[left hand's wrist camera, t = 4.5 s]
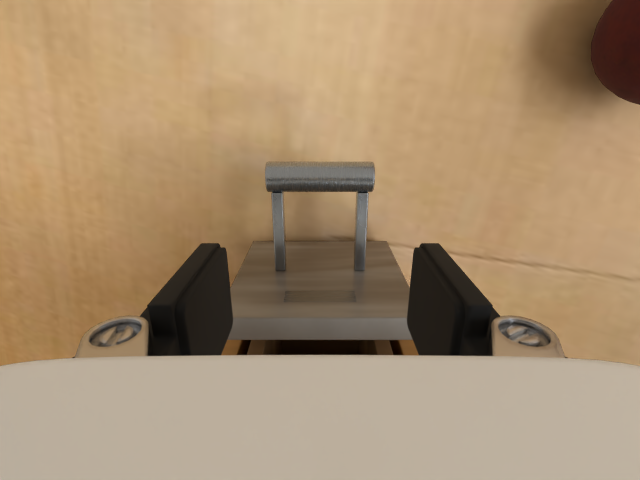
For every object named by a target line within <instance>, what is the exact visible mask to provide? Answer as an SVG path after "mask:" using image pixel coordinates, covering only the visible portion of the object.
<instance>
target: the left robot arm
mask: <svg viewBox="0 0 640 480" xmlns="http://www.w3.org/2000/svg"><path fill="white" fill-rule="evenodd" d="M147 306H148V307H147V308H146V310H145V311H144V312H143V313H142V314H141V315H140V317H139V316H121V317H116V318H112V319H109V320H106V321H104V322H101V323H99V324H97V325H96V326H94V327H92V328H91V329H90V330H88V331H87V332H86V333H85V334H84V336H83V337H82V339H81V341H80V344H79V347H78V350H77V353H76V356H75V357H73V358H66V359H51V360H37V361H29V362H22V363H14V364H8V365H3V366H0V480H640V366H637V365H631V364H626V363H619V362H610V361H602V360H589V359H573V358H567V357H565V356H564V353H563V350H562V347H561V344H560V341H559V339H558V337H557V336H556V334H555V333H554V332H553V331H552V330H550V329H549V328H548V327H546V326H544V325H543V324H541V323H539V322H536V321H534V320H531V319H528V318H524V317H519V316H501V317H500V315H499V314H498V313H497V312H496V311H495V310H494V308H493V307H492V306H493V305H492V304H491V303H490V302H489V301H488V300H487V299H486V297H485V296H484V295H483V294H482V293H481V292H480V290H479V289H478V288H477V287H476V286H475V285H474V283H473V282H472V281H471V280H470V279H469V278H468V277H467V275H466V274H465V273H464V272H463V271H462V270H461V268H460V267H459V266H458V265H457V264H456V263H455V262H454V260H453V259H452V258H451V257H450V256H449V255H448V253H447V252H446V251H445V250H444V249H443V248H442V247H441V245H440V244H438V243H422V244H421V245H420V247H419V248H415V249H414V253H413V263H412V273H411V282H410V292H409V302H408V312H407V325H408V329H409V332H410V334H411V337H412V339H413V342H414V344H415V347H416V349H417V352H418V354H419V355H221V354H222V352H223V349H224V347H225V344H226V342H227V339H228V337H229V334H230V332H231V329H232V325H233V312H232V302H231V292H230V282H229V273H228V263H227V253H226V249H225V248H221V247H220V245H219V244H218V243H202V244H200V245H199V247H198V248H197V249H196V250H195V251H194V252H193V254H192V255H191V256H190V257H189V258H188V259H187V260H186V262H185V263H184V264H183V265H182V266H181V267H180V269H179V270H178V271H177V272H176V273H175V274H174V275H173V277H172V278H171V279H170V280H169V281H168V282H167V284H166V285H165V286H164V287H163V288H162V289H161V290H160V292H159V293H158V294H157V295H156V296H155V297H154V299H153V300H152V301H151V302H150V303H149V304H148V305H147Z"/></svg>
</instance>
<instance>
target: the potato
mask: <svg viewBox="0 0 640 480" xmlns="http://www.w3.org/2000/svg"><path fill="white" fill-rule="evenodd" d="M591 61H592V64H593V67H594V71H595V74H596V75H597V77H598V78H599V79H600V81H601V82H602V84H603V85H604V86H605V87H607V88H608V89H609V90H610V91H611V92H613V93H614V94H615V95H617V96H618V97H620V98H622V99H625V100H627V101H629V102H632V103H636V104H639V105H640V0H613V1H612V2H611V3H610V5H609V6H608V7H607V9H606V10H605V12H604V13H603V15H602V17H601V19H600V21H599V22H598V24H597V27H596V30H595V33H594V36H593V40H592V45H591Z"/></svg>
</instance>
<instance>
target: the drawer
mask: <svg viewBox="0 0 640 480" xmlns="http://www.w3.org/2000/svg"><path fill="white" fill-rule="evenodd" d="M265 181H266V189H267V191H268V192H272V194H271V195H272V215H273V235H274V241H254V242H253V243H252V245H251V248H250V250H249V252H248V254H247V256H246V258H245V260H244V262H243V264H242V266H241V268H240V270H239V272H238V274H237V276H236V278H235V280H234V282H233V284H232V286H231V288H230V292H231V302H232V312H233V325H232V329H231V332H230V334H229V337H228V339H227V340H251V343H250V346H249V350H248V353H247V355H393V352H392V349H391V346H390V342H389V340H413V339H412V337H411V334H410V332H409V329H408V325H407V312H408V302H409V292H410V288H409V286H408V284H407V282H406V280H405V278H404V276H403V274H402V271H401V269H400V267H399V265H398V263H397V261H396V259H395V257H394V255H393V253H392V251H391V249H390V247H389V245H388V243H387V241H366V237H367V217H368V197H369V193H368V192H372V191H373V189H374V182H375V167H374V163H373V162H267V163H266V168H265ZM284 192H356V216H355V241H286V240H285V213H284Z"/></svg>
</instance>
